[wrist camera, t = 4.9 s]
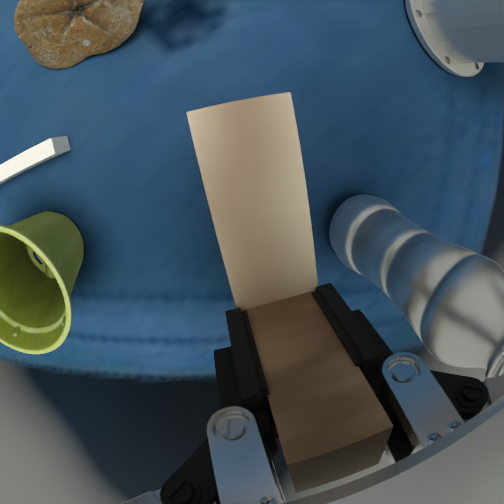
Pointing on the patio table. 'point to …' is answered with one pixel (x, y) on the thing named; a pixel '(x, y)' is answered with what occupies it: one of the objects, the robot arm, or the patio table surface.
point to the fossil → (74, 28)
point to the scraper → (284, 288)
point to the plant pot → (38, 281)
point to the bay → (33, 157)
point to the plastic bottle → (426, 281)
